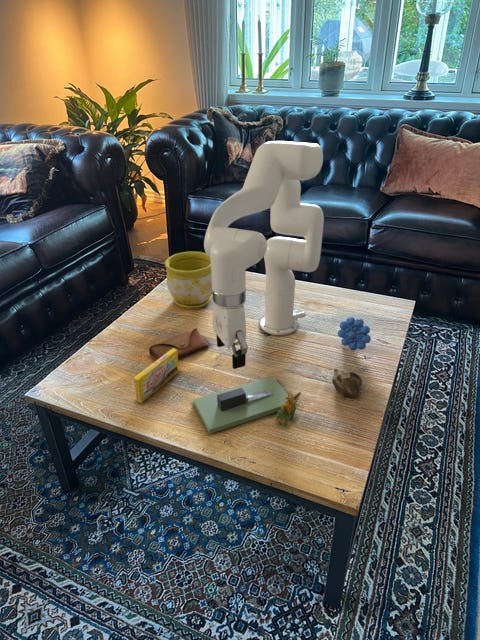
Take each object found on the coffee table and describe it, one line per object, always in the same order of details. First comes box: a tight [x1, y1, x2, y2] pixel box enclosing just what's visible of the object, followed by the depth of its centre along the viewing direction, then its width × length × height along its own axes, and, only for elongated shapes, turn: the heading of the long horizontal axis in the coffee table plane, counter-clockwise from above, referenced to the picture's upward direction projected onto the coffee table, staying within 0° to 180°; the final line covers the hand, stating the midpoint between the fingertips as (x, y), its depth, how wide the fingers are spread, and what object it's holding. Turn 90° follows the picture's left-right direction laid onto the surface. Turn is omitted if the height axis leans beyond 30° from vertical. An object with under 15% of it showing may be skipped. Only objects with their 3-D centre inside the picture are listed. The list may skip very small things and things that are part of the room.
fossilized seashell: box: [331, 368, 363, 398], centre depth 122 cm, size 8×7×10 cm
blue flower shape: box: [337, 316, 372, 352], centre depth 136 cm, size 12×7×12 cm, turn 40°
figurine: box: [275, 391, 302, 428], centre depth 111 cm, size 3×12×8 cm, turn 144°
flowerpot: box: [164, 251, 213, 310], centre depth 162 cm, size 18×18×16 cm
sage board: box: [192, 375, 291, 435], centre depth 117 cm, size 24×12×2 cm, turn 114°
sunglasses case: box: [148, 327, 211, 362], centre depth 139 cm, size 18×7×7 cm, turn 130°
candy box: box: [133, 348, 180, 404], centre depth 122 cm, size 16×2×8 cm, turn 148°
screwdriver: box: [217, 388, 272, 411], centre depth 116 cm, size 15×3×4 cm, turn 114°
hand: (230, 355), depth 109 cm, fingers open, 9 cm apart
